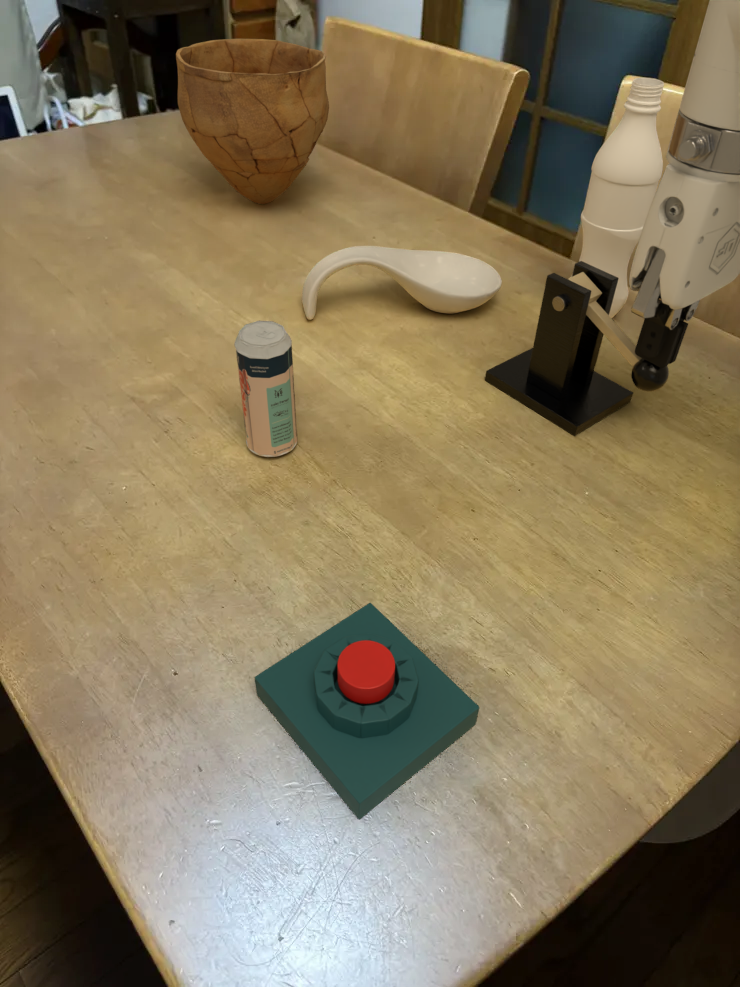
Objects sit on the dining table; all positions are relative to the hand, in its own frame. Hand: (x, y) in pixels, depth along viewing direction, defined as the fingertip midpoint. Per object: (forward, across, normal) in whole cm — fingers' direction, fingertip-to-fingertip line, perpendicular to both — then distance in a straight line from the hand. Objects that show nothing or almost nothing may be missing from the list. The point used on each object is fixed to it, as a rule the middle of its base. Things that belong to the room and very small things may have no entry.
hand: (654, 358), depth 67 cm
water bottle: (+9, +16, +17) cm, 25 cm away
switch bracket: (+9, 0, +9) cm, 12 cm away
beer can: (+9, -28, +20) cm, 36 cm away
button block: (+9, -39, -7) cm, 41 cm away
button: (+5, -39, -7) cm, 40 cm away
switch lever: (+1, 0, +5) cm, 5 cm away
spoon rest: (+9, -1, +32) cm, 33 cm away
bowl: (+9, +3, +68) cm, 69 cm away
